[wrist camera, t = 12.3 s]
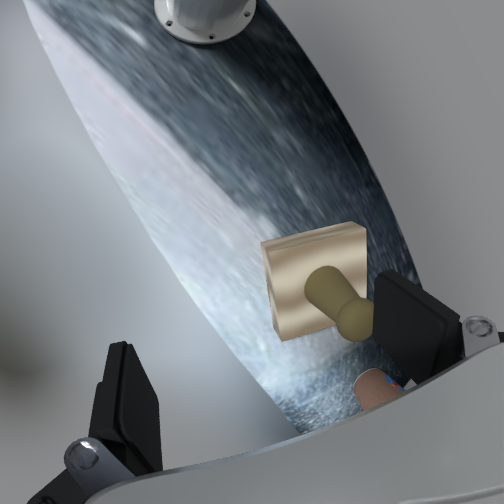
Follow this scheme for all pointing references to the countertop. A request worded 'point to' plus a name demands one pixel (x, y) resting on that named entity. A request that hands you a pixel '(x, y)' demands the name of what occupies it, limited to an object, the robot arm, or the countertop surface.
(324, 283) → the olive tall waisted piece
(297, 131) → the countertop surface
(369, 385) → the coffee cup
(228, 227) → the countertop surface
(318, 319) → the birch plinth
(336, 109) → the countertop surface
